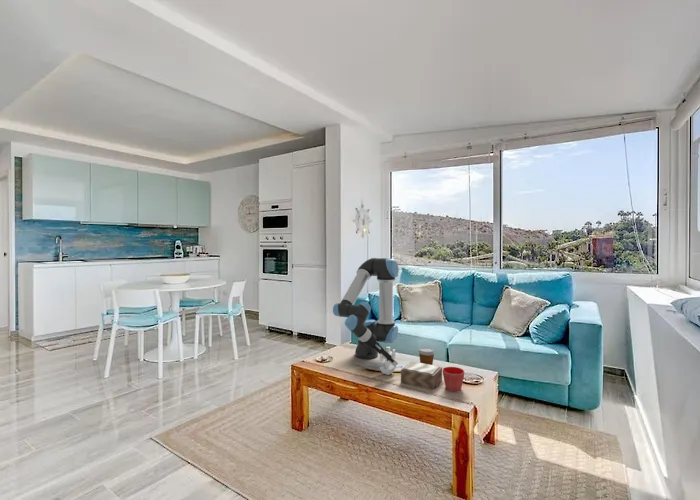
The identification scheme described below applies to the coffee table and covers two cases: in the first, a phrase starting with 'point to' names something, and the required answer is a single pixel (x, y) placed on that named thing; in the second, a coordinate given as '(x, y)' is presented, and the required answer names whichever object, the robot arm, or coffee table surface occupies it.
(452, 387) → the flower pot
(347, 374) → the coffee table surface
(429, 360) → the disposable coffee cup
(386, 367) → the figurine
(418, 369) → the chevron patterned box
